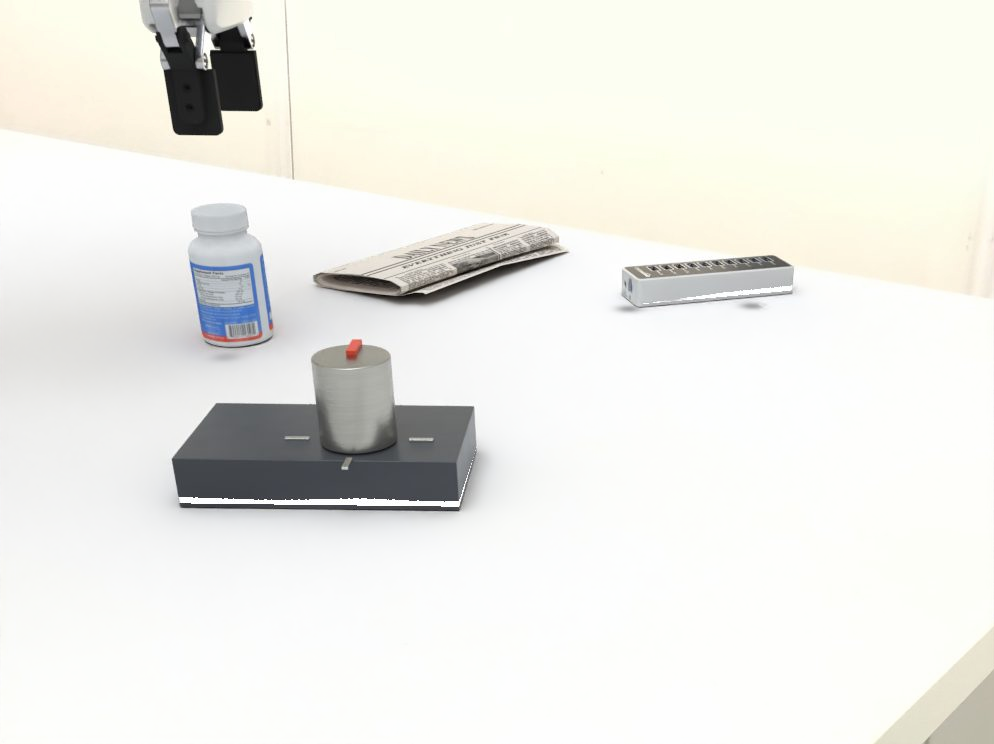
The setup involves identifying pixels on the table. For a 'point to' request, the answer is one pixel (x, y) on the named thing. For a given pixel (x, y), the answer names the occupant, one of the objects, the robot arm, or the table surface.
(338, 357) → the hob knob
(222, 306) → the pill bottle
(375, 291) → the newspaper
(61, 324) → the table surface
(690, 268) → the multiport hub
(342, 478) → the panel
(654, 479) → the table surface
